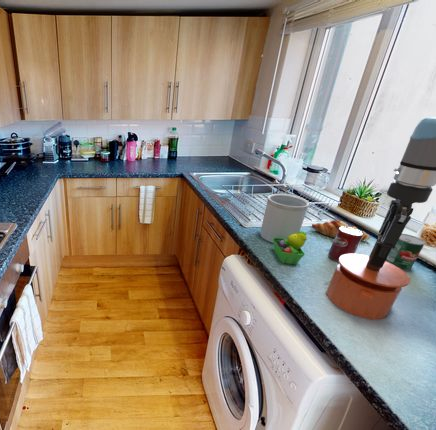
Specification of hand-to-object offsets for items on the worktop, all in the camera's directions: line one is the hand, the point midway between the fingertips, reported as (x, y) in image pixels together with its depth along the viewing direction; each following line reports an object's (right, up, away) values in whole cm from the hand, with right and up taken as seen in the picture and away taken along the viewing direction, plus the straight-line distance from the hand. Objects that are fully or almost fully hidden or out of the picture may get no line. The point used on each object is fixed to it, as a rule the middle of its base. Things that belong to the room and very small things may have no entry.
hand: (375, 262), depth 81 cm
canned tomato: (+30, -5, +25) cm, 40 cm away
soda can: (+12, -3, +28) cm, 30 cm away
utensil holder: (-4, +4, +42) cm, 42 cm away
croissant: (+24, +4, +44) cm, 50 cm away
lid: (0, -2, +1) cm, 3 cm away
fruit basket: (-8, -3, +28) cm, 29 cm away
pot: (0, -13, +6) cm, 14 cm away
